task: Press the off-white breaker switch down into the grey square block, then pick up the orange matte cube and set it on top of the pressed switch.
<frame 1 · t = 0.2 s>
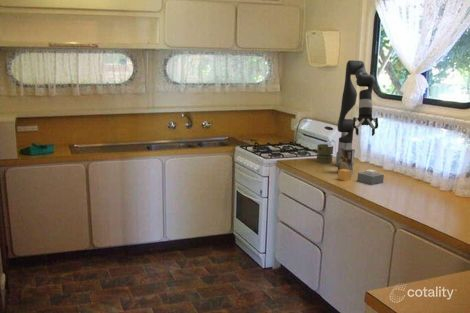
hand: (365, 135, 279), 31 cm above the worktop, tool tilted 20°, fingers open, 8 cm apart
grey square block: (370, 181, 298), on the worktop
coffee box: (345, 173, 319), on the worktop
piston: (324, 161, 354), on the worktop
breaker switch: (370, 172, 297), point 5 cm above the worktop, slide at 0.0 cm
orange matte cube: (344, 179, 302), on the worktop
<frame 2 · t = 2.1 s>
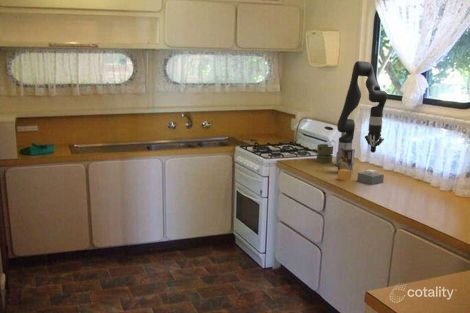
hand: (372, 152, 295), 18 cm above the worktop, tool pointing down, fingers closed
nothing on the worktop moved.
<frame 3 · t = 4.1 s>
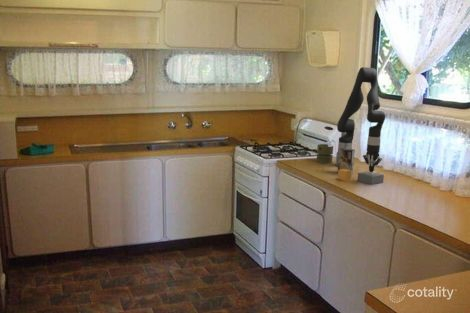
hand: (371, 171, 297), 6 cm above the worktop, tool pointing down, fingers closed
breaker switch: (370, 174, 297), point 5 cm above the worktop, slide at 0.7 cm, touching gripper
everything else where it was.
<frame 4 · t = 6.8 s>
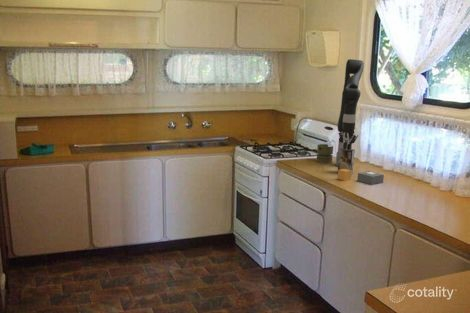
hand: (346, 149, 298), 19 cm above the worktop, tool pointing down, fingers closed
breaker switch: (370, 175, 298), point 4 cm above the worktop, slide at 1.5 cm
everything else where it was.
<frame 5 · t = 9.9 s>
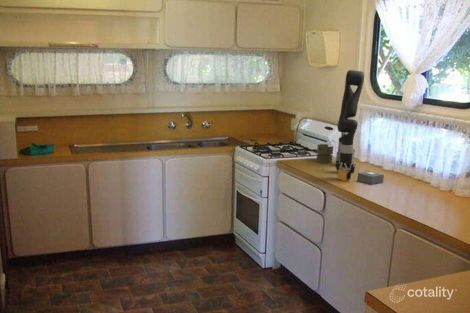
hand: (344, 178, 301), 1 cm above the worktop, tool pointing down, fingers closed on orange matte cube, 5 cm apart
orange matte cube: (344, 179, 302), on the worktop, touching gripper
everything else where it was.
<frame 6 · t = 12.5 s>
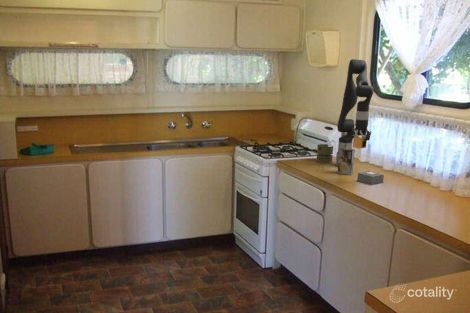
hand: (359, 146, 296), 22 cm above the worktop, tool pointing down, fingers closed on orange matte cube, 5 cm apart
orange matte cube: (359, 147, 296), point 21 cm above the worktop, touching gripper
everything else where it was.
when the fingers open (8 cm above the worktop, at t = 15.4 s): orange matte cube drops 2 cm, resting on breaker switch.
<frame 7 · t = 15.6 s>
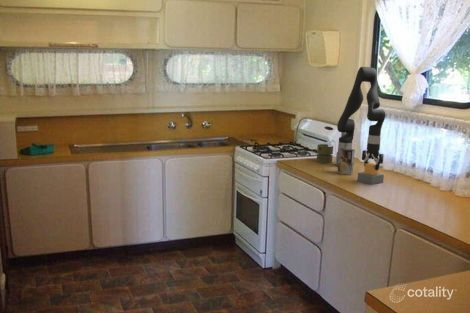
hand: (371, 168, 297), 8 cm above the worktop, tool pointing down, fingers open, 7 cm apart
breaker switch: (370, 176, 298), point 4 cm above the worktop, slide at 1.9 cm, touching orange matte cube
orange matte cube: (370, 173, 297), point 5 cm above the worktop, touching breaker switch
everything else where it was.
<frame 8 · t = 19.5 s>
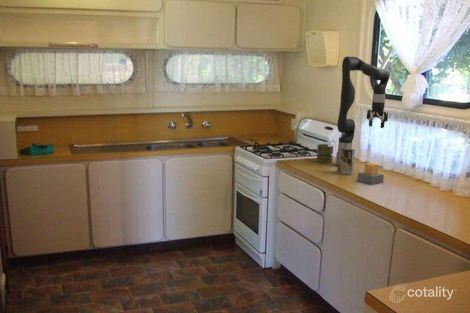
hand: (376, 127, 305), 32 cm above the worktop, tool pointing down, fingers open, 8 cm apart
nothing on the worktop moved.
at the end: breaker switch slide at 1.9 cm; orange matte cube 0.0 cm off-centre on the grey square block, point 5.1 cm above the grey square block's base; orange matte cube tilted 0° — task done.
